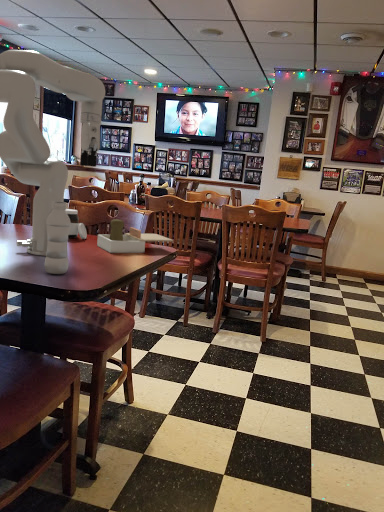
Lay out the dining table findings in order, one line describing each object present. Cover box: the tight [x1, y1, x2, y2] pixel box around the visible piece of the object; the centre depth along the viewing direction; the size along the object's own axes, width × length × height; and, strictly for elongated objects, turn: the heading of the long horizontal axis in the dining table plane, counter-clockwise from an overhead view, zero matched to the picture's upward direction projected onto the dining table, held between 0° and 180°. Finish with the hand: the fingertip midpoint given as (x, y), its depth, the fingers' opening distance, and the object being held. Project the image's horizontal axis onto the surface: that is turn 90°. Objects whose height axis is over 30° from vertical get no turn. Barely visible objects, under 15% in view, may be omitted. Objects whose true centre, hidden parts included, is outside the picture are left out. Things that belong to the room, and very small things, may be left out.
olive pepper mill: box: [109, 218, 125, 241], centre depth 155 cm, size 6×6×11 cm
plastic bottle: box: [43, 201, 71, 275], centre depth 110 cm, size 6×7×20 cm
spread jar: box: [65, 208, 88, 240], centre depth 170 cm, size 12×11×12 cm
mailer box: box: [96, 234, 146, 254], centre depth 157 cm, size 14×14×4 cm
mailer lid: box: [124, 226, 174, 242], centre depth 163 cm, size 14×14×4 cm
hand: (87, 165), depth 154 cm, fingers open, 9 cm apart
